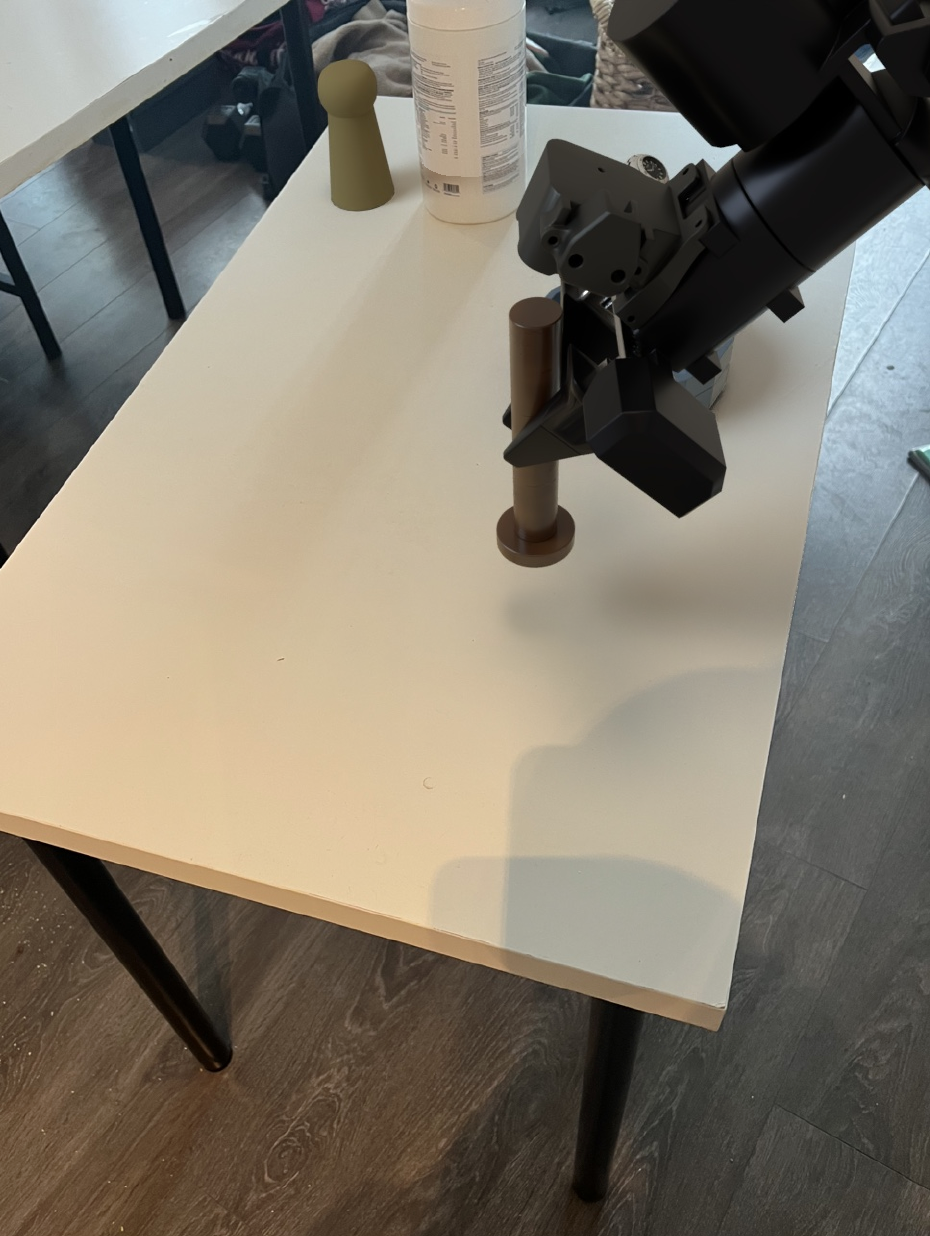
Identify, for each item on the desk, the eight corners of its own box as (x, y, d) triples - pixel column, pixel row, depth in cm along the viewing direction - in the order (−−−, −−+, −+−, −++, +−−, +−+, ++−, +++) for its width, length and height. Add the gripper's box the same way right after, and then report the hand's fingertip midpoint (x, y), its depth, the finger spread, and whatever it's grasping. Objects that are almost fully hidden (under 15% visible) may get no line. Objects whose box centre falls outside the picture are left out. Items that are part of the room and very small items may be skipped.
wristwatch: (662, 230, 83) (669, 171, 79) (593, 220, 85) (596, 162, 81) (674, 209, 85) (681, 150, 81) (606, 199, 87) (610, 141, 83)
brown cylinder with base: (577, 513, 56) (588, 283, 44) (571, 570, 54) (581, 342, 42) (501, 510, 57) (492, 283, 45) (492, 566, 54) (480, 341, 43)
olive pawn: (320, 190, 93) (298, 64, 84) (377, 170, 94) (360, 43, 85) (347, 218, 90) (326, 89, 81) (405, 196, 91) (391, 67, 82)
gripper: (622, -25, 41) (392, 245, 51) (676, 211, 30) (372, 494, 40) (777, 150, 46) (543, 362, 57) (870, 403, 36) (560, 609, 46)
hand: (508, 443), depth 50 cm, fingers closed on brown cylinder with base, 2 cm apart
